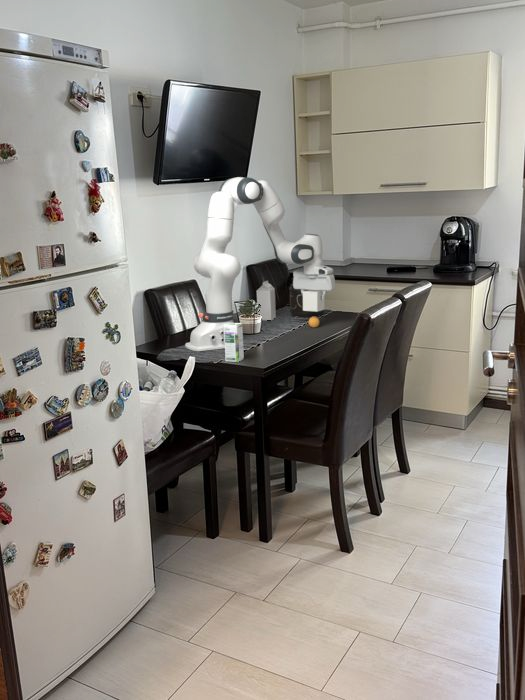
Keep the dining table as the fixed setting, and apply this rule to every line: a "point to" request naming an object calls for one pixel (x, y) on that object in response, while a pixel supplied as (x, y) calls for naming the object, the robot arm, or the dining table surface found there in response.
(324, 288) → the robot arm
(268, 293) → the milk carton
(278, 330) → the dining table surface
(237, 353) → the syrup box
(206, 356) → the dining table surface
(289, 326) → the dining table surface
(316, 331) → the dining table surface
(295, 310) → the chalk-scribbled black cube
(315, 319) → the ball
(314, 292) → the white block
